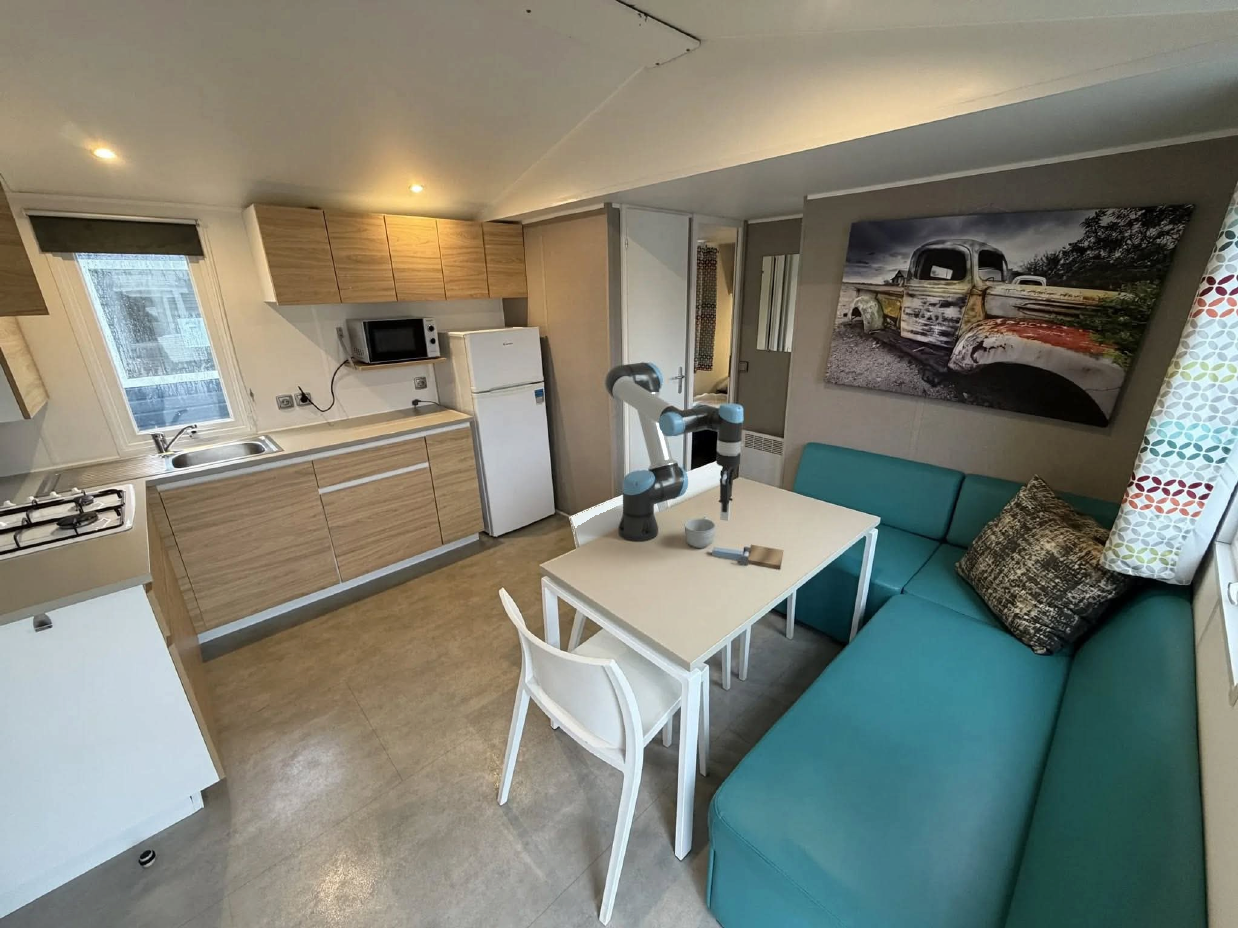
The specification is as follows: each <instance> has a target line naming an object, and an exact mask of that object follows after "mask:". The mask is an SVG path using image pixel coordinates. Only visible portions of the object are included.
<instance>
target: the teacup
mask: <svg viewBox="0 0 1238 928" xmlns="http://www.w3.org/2000/svg"><path fill="white" fill-rule="evenodd" d="M715 527H716V523H714V521H712V520H710V519H709V518H708V517H707V516H703V518H692V519H689V520H687V521H686V522H685V523H684V536H685V540H686V542H687V543H688V544H689V545H690V546H691V547H694V548H697V549H698V548H699V549H703V548H706V547H708V546H710V545H711V544H712V543H713V542H714V540H715V537H716V536H715V535H716V534H715V533H716V530H715V529H716V528H715Z"/></svg>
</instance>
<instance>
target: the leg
mask: <svg viewBox="0 0 1238 928" xmlns="http://www.w3.org/2000/svg"><path fill="white" fill-rule="evenodd" d="M743 551H744V550H738V549H731V548H727V547H726V548H724V547H717V546H714V547H713V548H712V552H711V554H712V555H711V556H712V557H715V558H722V559H726V560H732V561H733V560H734V561H736V562H738V561H739V562H740V559H741V555H743ZM748 555H749V552H747V551H745V552H744V555H743V556H748Z"/></svg>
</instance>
